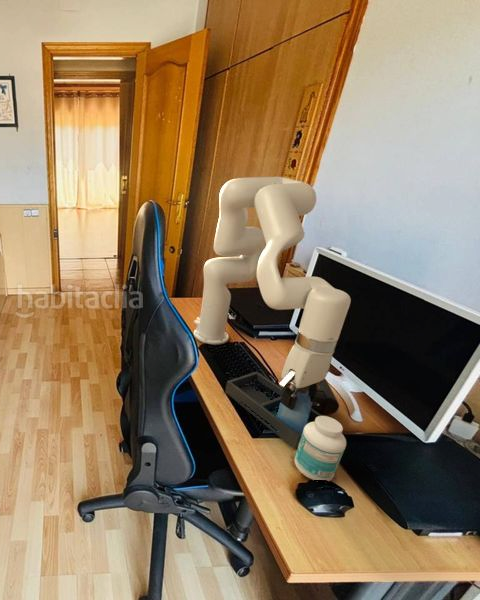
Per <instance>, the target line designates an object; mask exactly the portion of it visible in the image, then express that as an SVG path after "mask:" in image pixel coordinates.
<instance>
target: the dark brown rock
mask: <svg viewBox="0 0 480 600" xmlns="http://www.w3.org/2000/svg"><path fill="white" fill-rule="evenodd" d="M316 389H317V388H316ZM311 408H312V409H313V410H315V411H316V412H318V413H319V414H321V415H322V416H330V415H334V414H335V413H337V412H338V411H339V409H340V403H339V401H338V399H337V397H336V395H335V394H334V392H333V390H332V388H331V386H330V384H329V382H328V380H327V379H326V378H325V379H324V380H322V381H321V383H320V387H319V388H318V391H317V394H316V397H315V400H314V402H312V406H311Z"/></svg>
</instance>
